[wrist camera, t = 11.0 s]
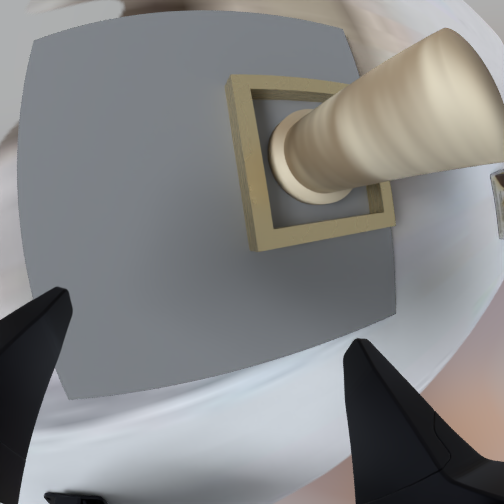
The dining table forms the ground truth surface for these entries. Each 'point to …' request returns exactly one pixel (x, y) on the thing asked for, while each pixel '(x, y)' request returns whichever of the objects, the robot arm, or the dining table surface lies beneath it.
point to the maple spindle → (393, 124)
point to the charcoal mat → (180, 202)
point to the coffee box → (499, 198)
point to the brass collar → (253, 175)
